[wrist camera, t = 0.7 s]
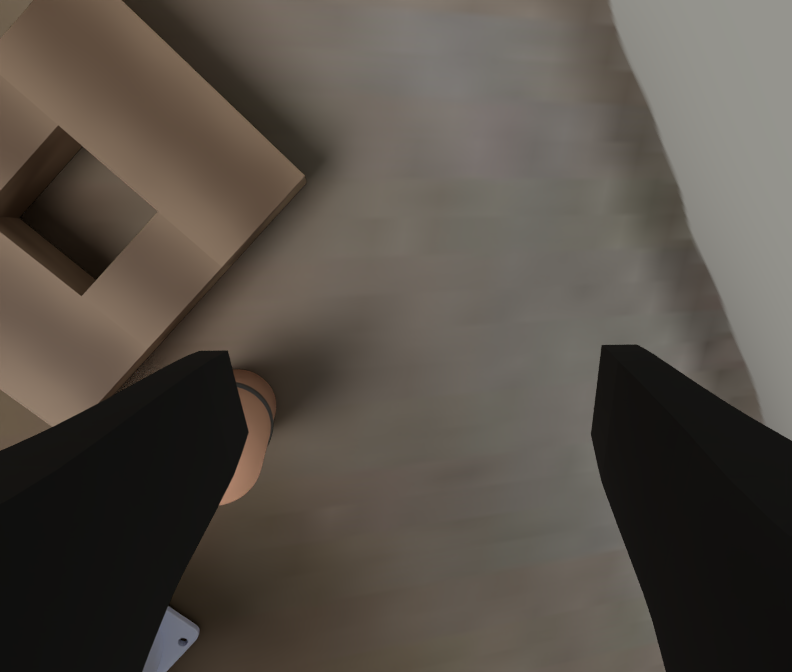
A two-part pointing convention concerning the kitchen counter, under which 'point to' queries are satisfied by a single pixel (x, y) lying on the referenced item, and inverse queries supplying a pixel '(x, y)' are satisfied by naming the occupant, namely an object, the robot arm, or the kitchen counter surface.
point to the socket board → (142, 171)
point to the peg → (252, 431)
